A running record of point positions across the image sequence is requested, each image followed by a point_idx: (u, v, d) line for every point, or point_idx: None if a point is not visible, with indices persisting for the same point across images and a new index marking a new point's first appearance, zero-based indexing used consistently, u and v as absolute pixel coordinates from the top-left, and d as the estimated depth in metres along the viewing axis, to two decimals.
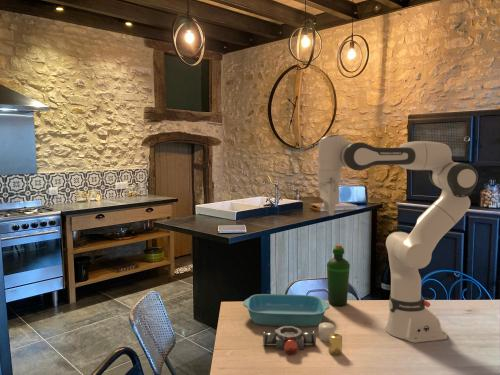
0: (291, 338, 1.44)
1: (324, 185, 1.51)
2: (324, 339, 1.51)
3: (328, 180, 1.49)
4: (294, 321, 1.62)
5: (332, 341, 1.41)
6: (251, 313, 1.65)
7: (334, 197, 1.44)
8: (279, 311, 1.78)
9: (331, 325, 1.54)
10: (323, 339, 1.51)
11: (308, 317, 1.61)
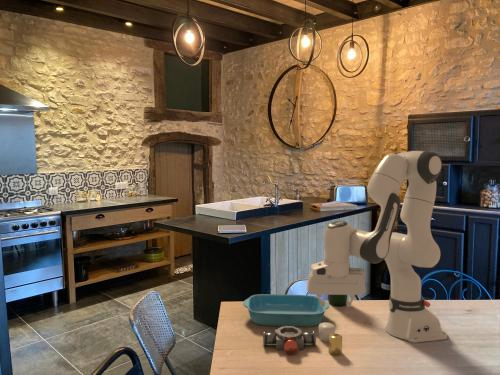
0: (291, 338, 1.44)
1: (343, 277, 1.38)
2: (324, 339, 1.51)
3: (349, 271, 1.39)
4: (294, 321, 1.62)
5: (332, 341, 1.41)
6: (251, 313, 1.65)
7: None
8: (279, 311, 1.78)
9: (331, 325, 1.54)
10: (323, 339, 1.51)
11: (308, 317, 1.61)
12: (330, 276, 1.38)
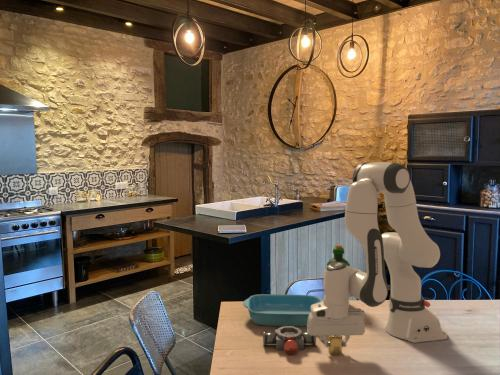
0: (291, 338, 1.44)
1: (343, 319, 1.40)
2: None
3: (348, 312, 1.40)
4: (295, 321, 1.62)
5: (332, 341, 1.41)
6: (252, 313, 1.64)
7: None
8: (279, 311, 1.78)
9: None
10: None
11: None
12: (330, 317, 1.40)
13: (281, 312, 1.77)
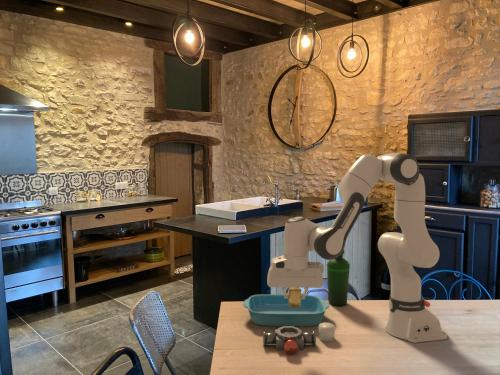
0: (291, 338, 1.44)
1: (302, 271, 1.43)
2: (324, 339, 1.51)
3: (307, 264, 1.44)
4: (295, 321, 1.62)
5: (291, 293, 1.44)
6: (252, 314, 1.64)
7: None
8: (279, 311, 1.78)
9: (331, 325, 1.54)
10: (323, 339, 1.51)
11: (309, 317, 1.62)
12: (289, 269, 1.43)
13: (281, 312, 1.77)
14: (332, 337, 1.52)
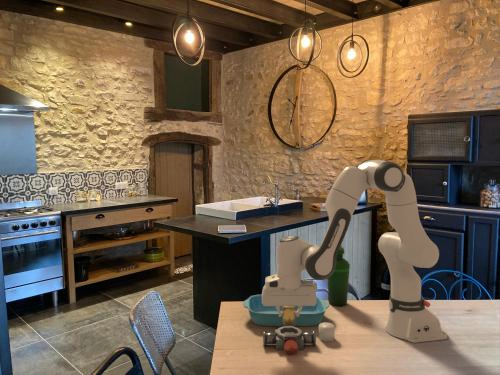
0: (291, 338, 1.44)
1: (295, 289, 1.45)
2: (324, 339, 1.51)
3: (300, 283, 1.46)
4: (295, 321, 1.62)
5: (285, 311, 1.46)
6: (252, 314, 1.64)
7: None
8: None
9: (331, 325, 1.54)
10: (323, 339, 1.51)
11: (309, 316, 1.62)
12: (282, 288, 1.45)
13: None
14: (332, 337, 1.52)
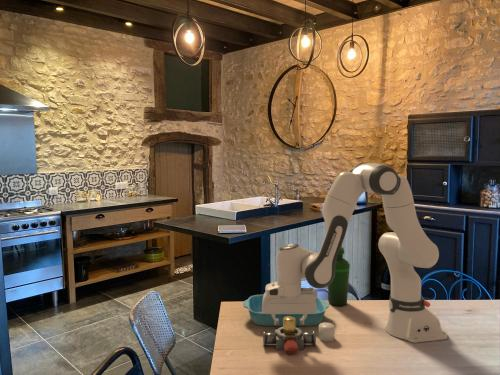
0: (291, 338, 1.44)
1: (295, 297, 1.45)
2: (324, 339, 1.51)
3: (301, 291, 1.46)
4: (296, 321, 1.62)
5: (285, 323, 1.46)
6: (252, 314, 1.64)
7: None
8: None
9: (331, 325, 1.54)
10: (323, 339, 1.51)
11: (309, 316, 1.62)
12: (283, 296, 1.45)
13: None
14: (332, 337, 1.52)
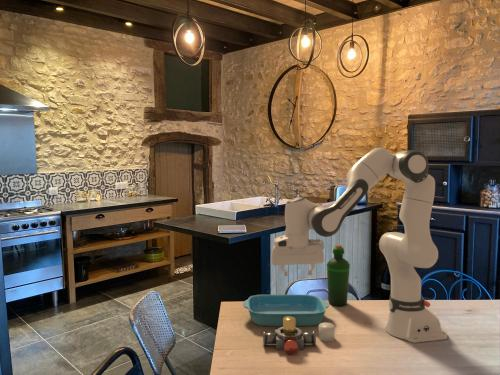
0: (291, 338, 1.44)
1: (303, 248, 1.51)
2: (324, 339, 1.51)
3: (308, 242, 1.52)
4: (296, 321, 1.62)
5: (285, 323, 1.46)
6: (252, 314, 1.64)
7: None
8: (278, 311, 1.77)
9: (331, 325, 1.54)
10: (323, 339, 1.51)
11: (310, 316, 1.62)
12: (291, 247, 1.51)
13: (280, 312, 1.77)
14: (332, 337, 1.52)
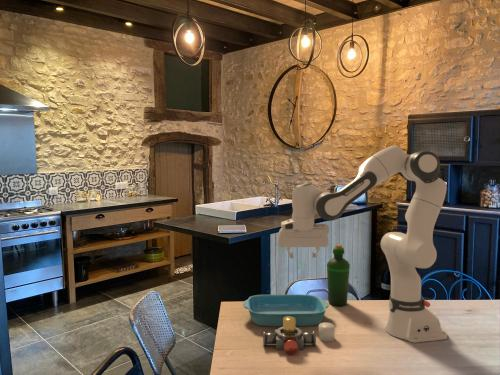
0: (291, 338, 1.44)
1: (309, 231, 1.58)
2: (324, 339, 1.51)
3: (313, 226, 1.59)
4: (296, 321, 1.63)
5: (285, 323, 1.46)
6: (253, 314, 1.63)
7: None
8: (278, 311, 1.77)
9: (331, 325, 1.54)
10: (323, 339, 1.51)
11: (310, 316, 1.62)
12: (297, 230, 1.58)
13: (280, 312, 1.77)
14: (332, 337, 1.52)
